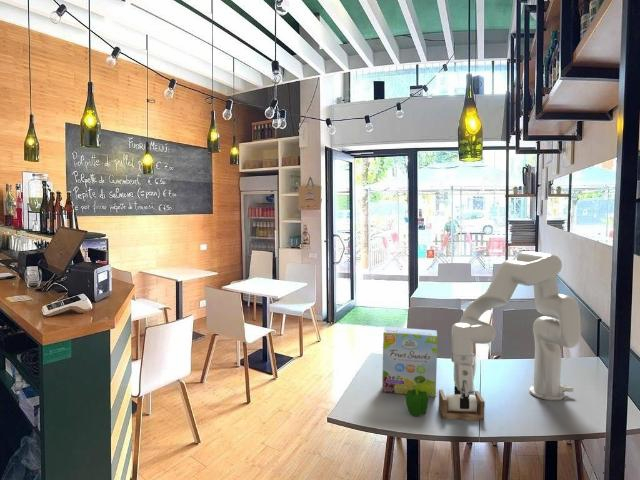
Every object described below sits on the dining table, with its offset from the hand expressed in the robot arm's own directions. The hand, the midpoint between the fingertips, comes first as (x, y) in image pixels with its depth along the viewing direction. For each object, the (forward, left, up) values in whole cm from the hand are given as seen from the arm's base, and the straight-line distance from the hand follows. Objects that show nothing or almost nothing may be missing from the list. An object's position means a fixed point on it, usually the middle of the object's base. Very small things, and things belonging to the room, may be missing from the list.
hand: (461, 402), depth 163 cm
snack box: (+17, -18, -5) cm, 25 cm away
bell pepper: (+16, +1, -5) cm, 17 cm away
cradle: (0, 0, -4) cm, 4 cm away
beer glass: (-7, -22, -4) cm, 23 cm away
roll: (0, 0, -3) cm, 3 cm away
